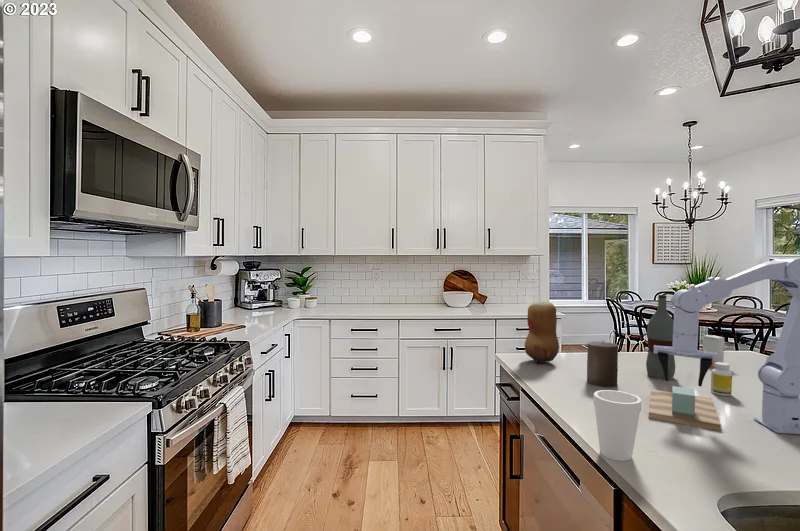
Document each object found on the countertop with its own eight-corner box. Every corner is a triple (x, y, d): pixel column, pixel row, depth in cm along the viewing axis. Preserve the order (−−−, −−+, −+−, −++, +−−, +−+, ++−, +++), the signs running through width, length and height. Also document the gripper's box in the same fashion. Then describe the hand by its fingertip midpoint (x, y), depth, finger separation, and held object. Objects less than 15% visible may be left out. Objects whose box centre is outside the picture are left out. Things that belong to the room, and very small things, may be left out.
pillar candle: (619, 388, 145) (620, 343, 145) (587, 385, 148) (588, 341, 148) (615, 380, 154) (616, 338, 154) (585, 378, 157) (586, 336, 157)
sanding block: (694, 418, 115) (695, 396, 115) (672, 414, 117) (672, 392, 117) (693, 410, 121) (693, 389, 121) (671, 406, 123) (672, 386, 123)
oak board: (720, 430, 111) (720, 424, 111) (648, 417, 119) (648, 412, 119) (711, 403, 131) (712, 398, 131) (650, 393, 139) (650, 389, 139)
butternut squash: (518, 359, 184) (519, 300, 183) (545, 357, 188) (546, 299, 187) (538, 367, 171) (539, 304, 170) (566, 365, 175) (567, 303, 174)
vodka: (681, 378, 157) (683, 295, 157) (663, 381, 154) (665, 296, 153) (657, 371, 166) (659, 293, 165) (640, 374, 163) (642, 294, 162)
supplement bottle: (735, 396, 137) (736, 366, 137) (715, 395, 138) (716, 365, 138) (725, 391, 143) (726, 362, 142) (707, 390, 144) (708, 361, 144)
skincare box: (701, 364, 178) (702, 335, 178) (707, 363, 180) (708, 334, 180) (717, 368, 173) (718, 338, 172) (724, 366, 174) (724, 337, 174)
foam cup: (599, 441, 104) (600, 387, 103) (643, 453, 98) (644, 395, 97) (587, 455, 96) (588, 397, 96) (634, 469, 90) (635, 407, 90)
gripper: (654, 332, 119) (651, 381, 120) (719, 339, 111) (716, 391, 112) (655, 328, 125) (653, 375, 126) (717, 335, 117) (714, 385, 118)
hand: (682, 382), depth 119 cm, fingers open, 7 cm apart
